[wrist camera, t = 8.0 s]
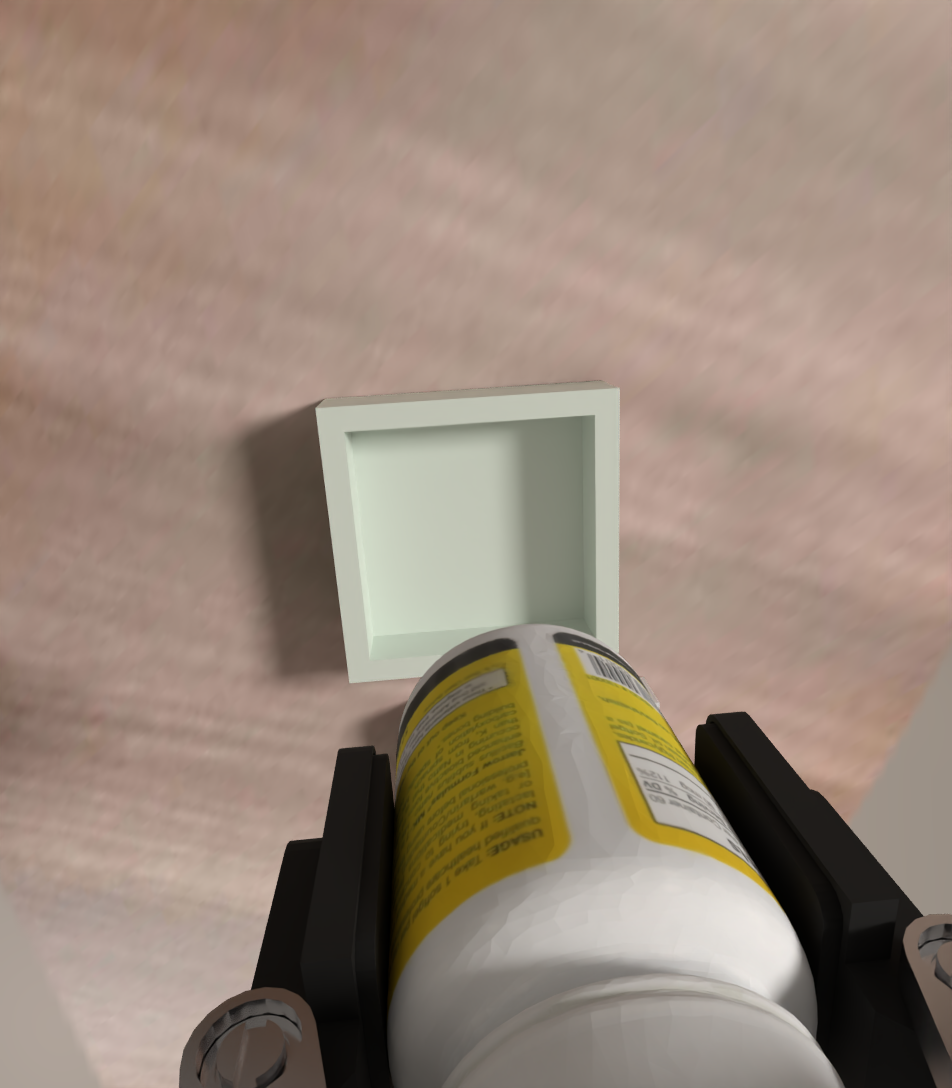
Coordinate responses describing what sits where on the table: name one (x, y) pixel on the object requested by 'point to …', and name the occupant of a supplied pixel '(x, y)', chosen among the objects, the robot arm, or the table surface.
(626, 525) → the table surface
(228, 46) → the table surface
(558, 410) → the tray
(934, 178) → the table surface
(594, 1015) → the supplement bottle
